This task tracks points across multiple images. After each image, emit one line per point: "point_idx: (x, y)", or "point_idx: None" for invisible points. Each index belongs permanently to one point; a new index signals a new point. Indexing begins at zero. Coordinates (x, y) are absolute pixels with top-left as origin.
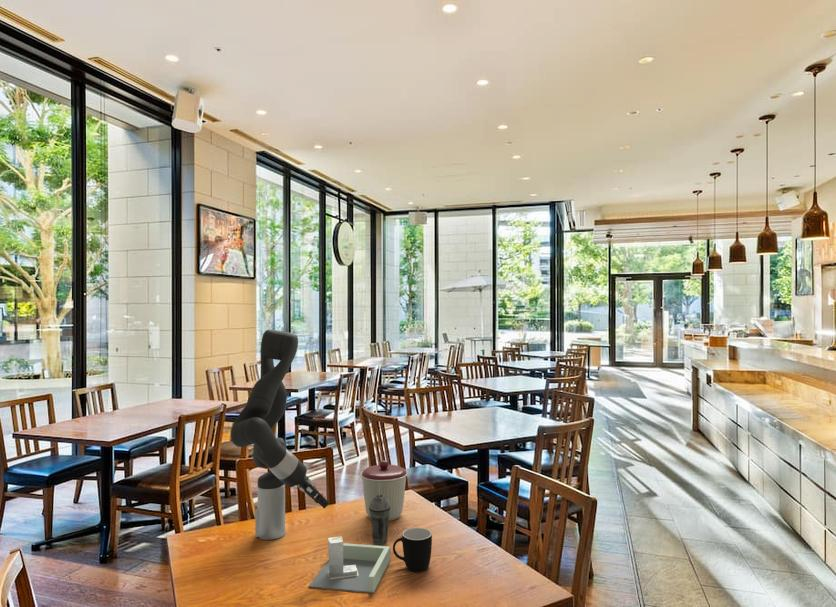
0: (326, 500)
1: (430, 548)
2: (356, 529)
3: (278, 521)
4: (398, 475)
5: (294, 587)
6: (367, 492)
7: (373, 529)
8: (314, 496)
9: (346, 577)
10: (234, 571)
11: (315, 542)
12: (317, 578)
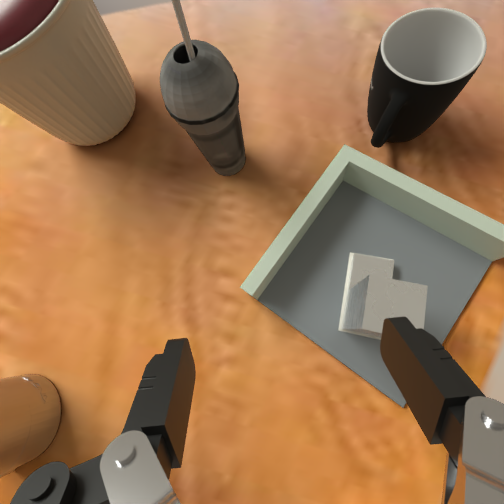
0: (423, 340)
1: (446, 52)
2: (129, 191)
3: (14, 418)
4: None
5: (383, 446)
6: (42, 97)
7: (224, 154)
8: (194, 370)
9: None
10: None
11: (142, 309)
12: (366, 369)
